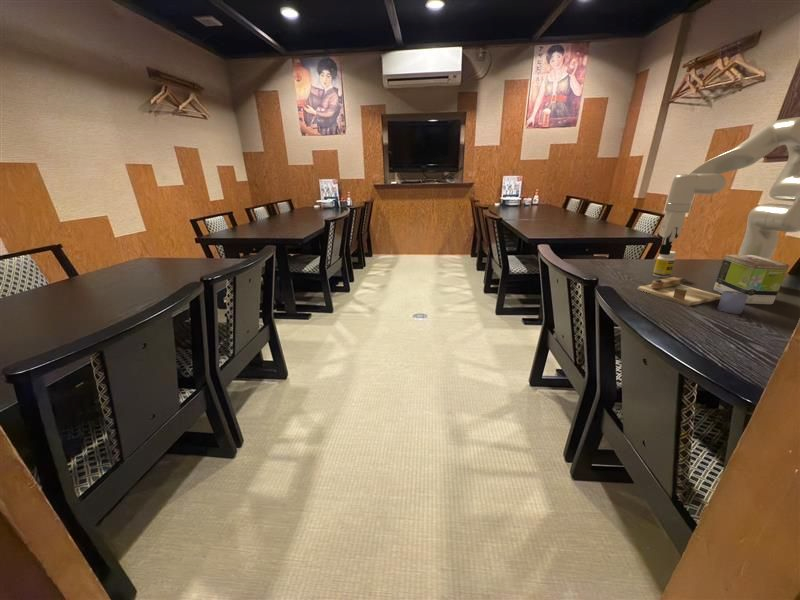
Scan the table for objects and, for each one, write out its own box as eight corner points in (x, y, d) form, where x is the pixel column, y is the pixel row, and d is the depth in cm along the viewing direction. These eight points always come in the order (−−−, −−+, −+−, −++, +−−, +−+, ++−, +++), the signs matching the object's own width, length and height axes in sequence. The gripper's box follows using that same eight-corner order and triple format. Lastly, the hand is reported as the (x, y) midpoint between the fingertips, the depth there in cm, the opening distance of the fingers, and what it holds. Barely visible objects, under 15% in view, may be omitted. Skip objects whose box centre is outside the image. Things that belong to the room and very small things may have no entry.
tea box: (774, 305, 113) (791, 264, 107) (740, 303, 115) (755, 264, 109) (741, 290, 126) (755, 253, 121) (711, 289, 128) (724, 253, 123)
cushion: (724, 305, 114) (730, 289, 111) (745, 312, 108) (752, 295, 106) (713, 308, 112) (718, 291, 110) (734, 315, 107) (741, 297, 104)
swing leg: (674, 281, 133) (676, 274, 132) (684, 284, 130) (686, 277, 129) (648, 286, 129) (650, 279, 128) (658, 289, 126) (660, 282, 125)
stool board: (667, 283, 136) (670, 273, 134) (721, 298, 119) (725, 286, 118) (637, 289, 131) (640, 278, 130) (688, 306, 114) (692, 293, 113)
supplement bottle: (665, 278, 142) (673, 254, 138) (649, 275, 147) (656, 251, 143) (672, 276, 145) (680, 251, 141) (656, 273, 150) (663, 249, 146)
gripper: (661, 206, 133) (649, 249, 139) (670, 209, 120) (656, 257, 127) (684, 206, 129) (670, 251, 136) (695, 210, 117) (680, 259, 124)
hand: (663, 254), depth 132 cm, fingers closed
